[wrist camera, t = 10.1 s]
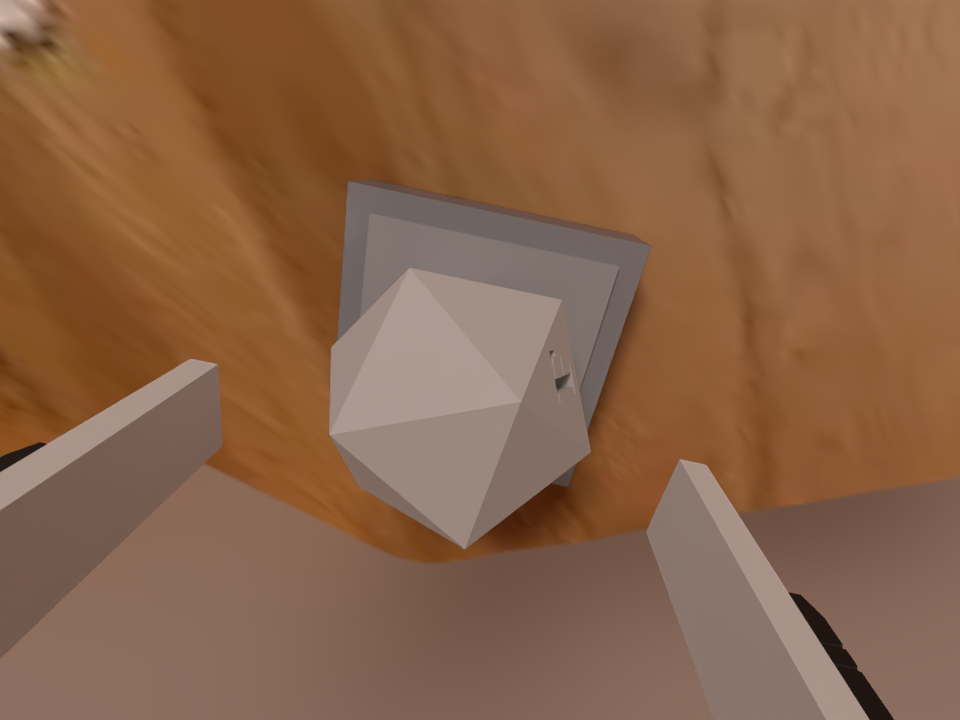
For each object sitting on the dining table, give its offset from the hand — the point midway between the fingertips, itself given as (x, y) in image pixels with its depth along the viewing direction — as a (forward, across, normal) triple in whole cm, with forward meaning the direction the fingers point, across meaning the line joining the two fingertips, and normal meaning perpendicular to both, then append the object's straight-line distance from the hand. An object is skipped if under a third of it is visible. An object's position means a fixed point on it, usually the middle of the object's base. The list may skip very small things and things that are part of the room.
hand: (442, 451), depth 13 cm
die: (+8, 0, 0) cm, 8 cm away
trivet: (+10, 0, 0) cm, 11 cm away
